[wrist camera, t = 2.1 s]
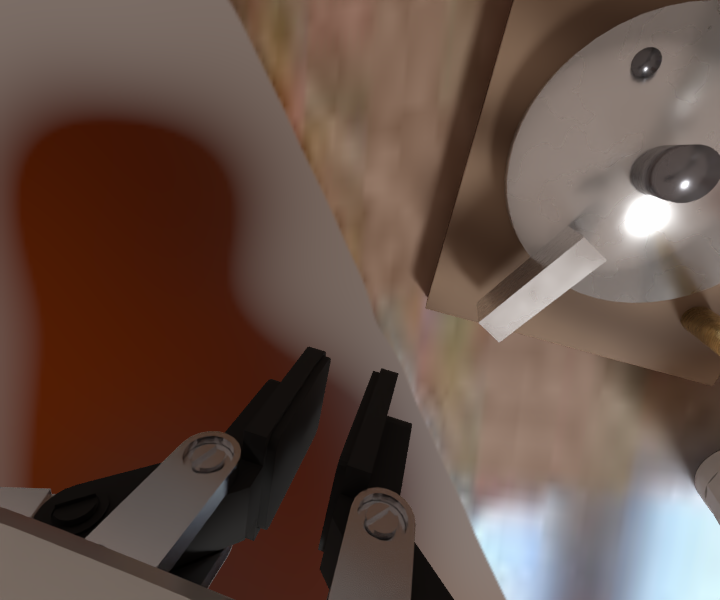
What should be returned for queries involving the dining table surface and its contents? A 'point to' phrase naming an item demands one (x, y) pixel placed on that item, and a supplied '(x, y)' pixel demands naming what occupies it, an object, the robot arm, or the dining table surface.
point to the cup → (710, 483)
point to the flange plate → (614, 170)
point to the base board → (493, 227)
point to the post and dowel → (682, 185)
